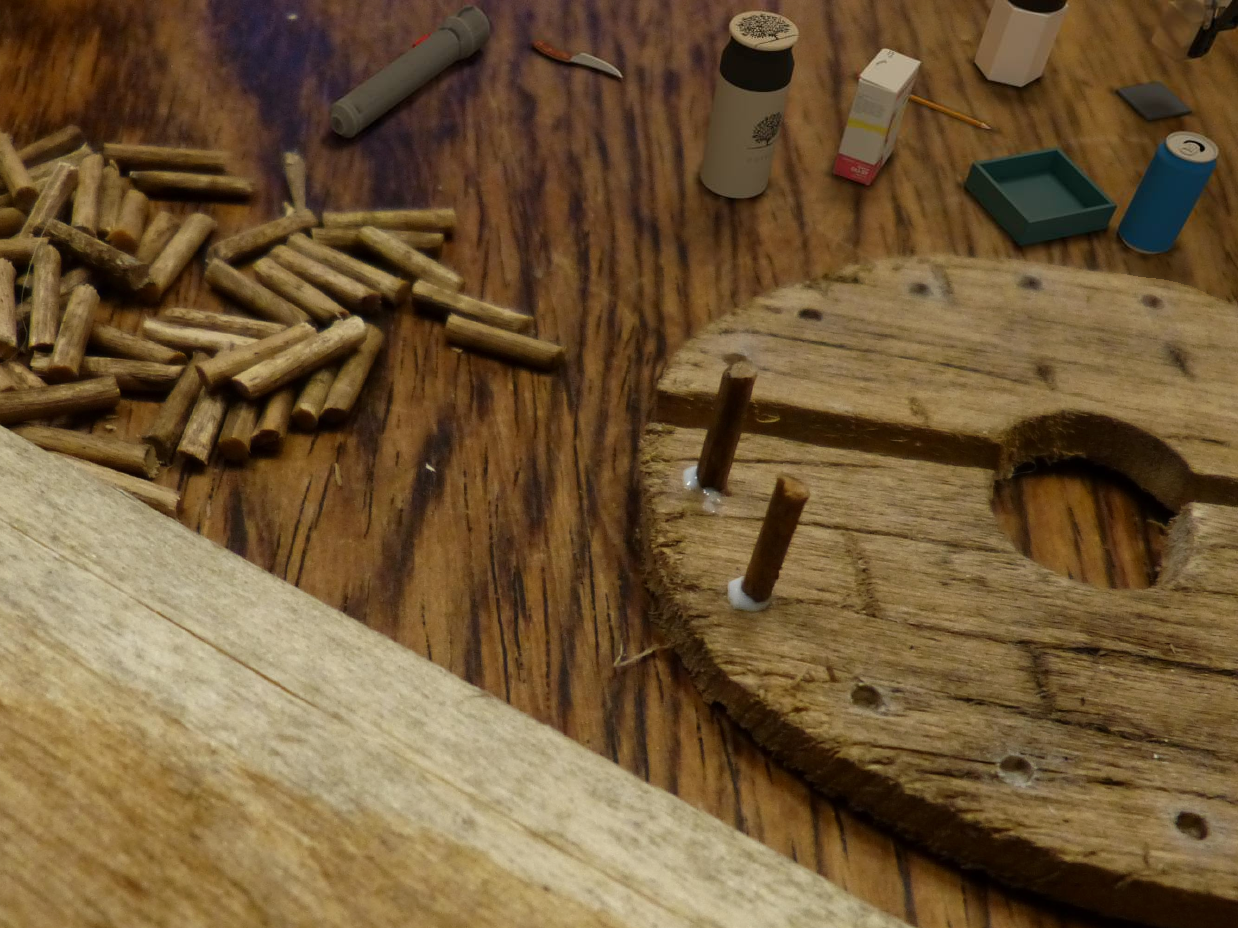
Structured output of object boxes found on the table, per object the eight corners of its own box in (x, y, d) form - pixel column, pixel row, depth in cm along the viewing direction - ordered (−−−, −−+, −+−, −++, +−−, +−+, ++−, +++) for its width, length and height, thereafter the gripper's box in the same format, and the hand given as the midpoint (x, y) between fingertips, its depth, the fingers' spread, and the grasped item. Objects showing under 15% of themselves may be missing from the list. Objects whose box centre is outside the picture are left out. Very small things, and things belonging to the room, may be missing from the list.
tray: (1106, 228, 149) (1117, 205, 146) (1019, 246, 146) (1029, 222, 143) (1048, 170, 155) (1058, 146, 153) (963, 185, 152) (972, 162, 150)
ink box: (868, 187, 151) (897, 92, 141) (830, 173, 152) (856, 78, 142) (893, 153, 155) (923, 58, 145) (856, 140, 156) (883, 45, 147)
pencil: (856, 80, 165) (858, 74, 164) (858, 78, 165) (860, 72, 165) (990, 134, 160) (993, 127, 159) (993, 131, 160) (995, 125, 159)
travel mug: (688, 167, 151) (714, 14, 136) (748, 156, 153) (780, 5, 138) (717, 205, 147) (747, 52, 132) (778, 194, 149) (814, 42, 134)
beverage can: (1181, 243, 148) (1233, 148, 138) (1153, 265, 145) (1204, 170, 136) (1133, 217, 151) (1181, 122, 141) (1104, 238, 148) (1151, 143, 138)
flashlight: (346, 154, 150) (315, 123, 149) (482, 53, 164) (454, 24, 163) (359, 126, 146) (327, 94, 145) (497, 25, 159) (468, -5, 159)
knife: (631, 66, 161) (622, 76, 160) (631, 70, 162) (621, 81, 160) (538, 36, 164) (528, 46, 162) (538, 40, 165) (527, 50, 163)
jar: (1001, 45, 172) (1034, -48, 162) (1051, 72, 169) (1088, -21, 159) (961, 66, 168) (993, -28, 158) (1012, 94, 165) (1048, 0, 155)
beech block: (1206, 56, 159) (1226, 16, 155) (1174, 62, 158) (1193, 21, 154) (1182, 36, 162) (1201, -4, 158) (1150, 41, 161) (1168, 1, 157)
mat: (1190, 113, 165) (1192, 110, 165) (1147, 120, 163) (1148, 117, 163) (1158, 84, 169) (1159, 81, 168) (1115, 91, 167) (1116, 88, 167)
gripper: (1317, -76, 143) (1240, 70, 157) (1236, -132, 150) (1169, 12, 164) (1265, -69, 141) (1191, 79, 155) (1186, -126, 149) (1122, 19, 162)
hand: (1180, 44), depth 160 cm, fingers closed on beech block, 5 cm apart
